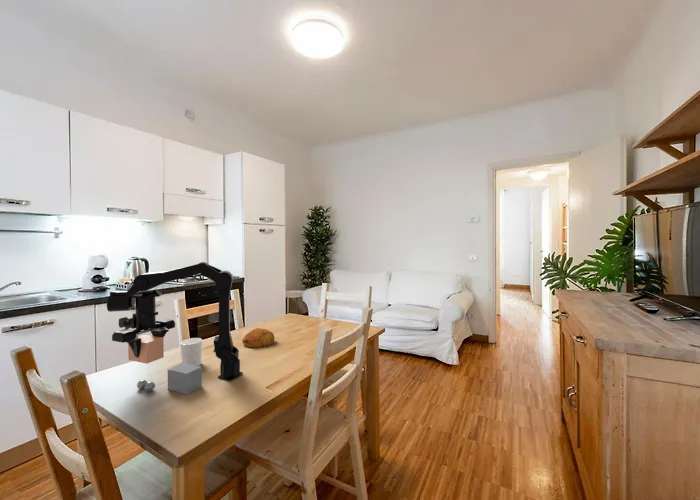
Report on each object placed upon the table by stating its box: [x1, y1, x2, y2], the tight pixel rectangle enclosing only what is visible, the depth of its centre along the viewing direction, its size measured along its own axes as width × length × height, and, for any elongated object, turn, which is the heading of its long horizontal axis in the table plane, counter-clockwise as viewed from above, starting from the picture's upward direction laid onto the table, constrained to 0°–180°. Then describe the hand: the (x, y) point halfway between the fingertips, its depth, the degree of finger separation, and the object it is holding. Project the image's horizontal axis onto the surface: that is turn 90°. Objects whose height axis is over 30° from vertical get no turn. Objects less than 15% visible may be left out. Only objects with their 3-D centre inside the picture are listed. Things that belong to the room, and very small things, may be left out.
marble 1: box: [136, 379, 148, 390], centre depth 104 cm, size 3×3×3 cm
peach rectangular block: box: [127, 334, 165, 365], centre depth 105 cm, size 9×6×7 cm, turn 70°
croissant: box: [241, 327, 275, 349], centre depth 151 cm, size 14×16×8 cm
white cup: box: [180, 337, 203, 366], centre depth 124 cm, size 8×8×10 cm
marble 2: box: [144, 381, 156, 392], centre depth 103 cm, size 3×3×3 cm
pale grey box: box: [167, 362, 203, 395], centre depth 105 cm, size 9×6×7 cm, turn 69°
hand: (146, 354), depth 105 cm, fingers closed on peach rectangular block, 6 cm apart
